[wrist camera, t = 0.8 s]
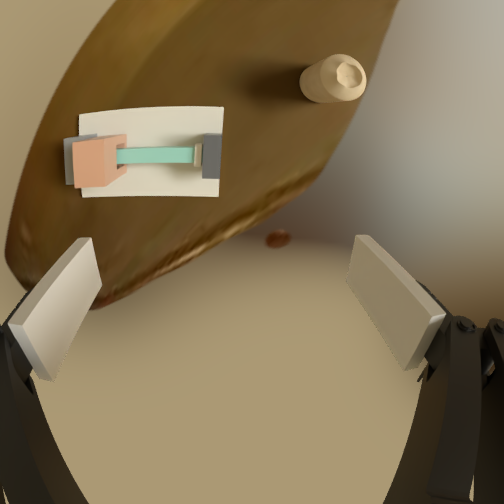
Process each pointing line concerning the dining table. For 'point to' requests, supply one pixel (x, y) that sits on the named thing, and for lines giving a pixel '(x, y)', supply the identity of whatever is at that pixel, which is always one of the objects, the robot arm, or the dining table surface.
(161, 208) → the dining table surface
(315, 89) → the candle
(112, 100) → the dining table surface
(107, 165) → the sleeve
